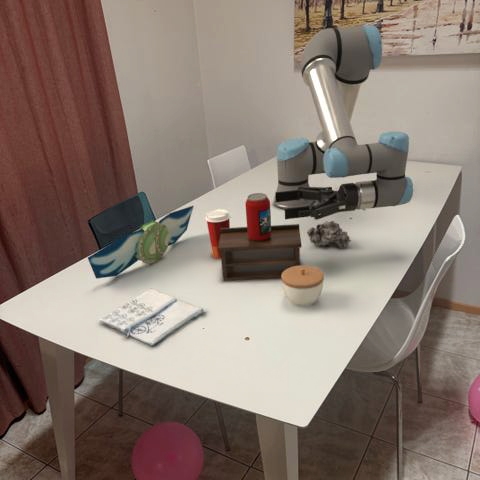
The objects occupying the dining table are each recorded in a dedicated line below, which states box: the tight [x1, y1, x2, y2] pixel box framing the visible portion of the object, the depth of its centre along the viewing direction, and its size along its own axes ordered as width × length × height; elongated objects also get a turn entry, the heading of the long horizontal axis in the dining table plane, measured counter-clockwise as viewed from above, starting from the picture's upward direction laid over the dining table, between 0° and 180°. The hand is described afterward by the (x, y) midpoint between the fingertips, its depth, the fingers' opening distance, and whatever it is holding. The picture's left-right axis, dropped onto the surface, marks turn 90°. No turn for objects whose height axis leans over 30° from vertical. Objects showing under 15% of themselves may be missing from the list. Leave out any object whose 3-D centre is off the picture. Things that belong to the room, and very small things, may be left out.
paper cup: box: [204, 209, 231, 260], centre depth 145 cm, size 8×8×14 cm
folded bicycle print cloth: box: [99, 288, 204, 347], centre depth 119 cm, size 19×20×2 cm
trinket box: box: [281, 264, 325, 308], centre depth 119 cm, size 11×11×9 cm
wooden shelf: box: [218, 223, 302, 282], centre depth 134 cm, size 11×23×12 cm, turn 87°
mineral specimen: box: [306, 220, 352, 250], centre depth 146 cm, size 12×9×10 cm
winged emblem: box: [87, 205, 194, 279], centre depth 145 cm, size 45×5×14 cm, turn 144°
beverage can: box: [245, 192, 272, 241], centre depth 128 cm, size 7×7×12 cm
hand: (279, 205), depth 127 cm, fingers open, 13 cm apart
